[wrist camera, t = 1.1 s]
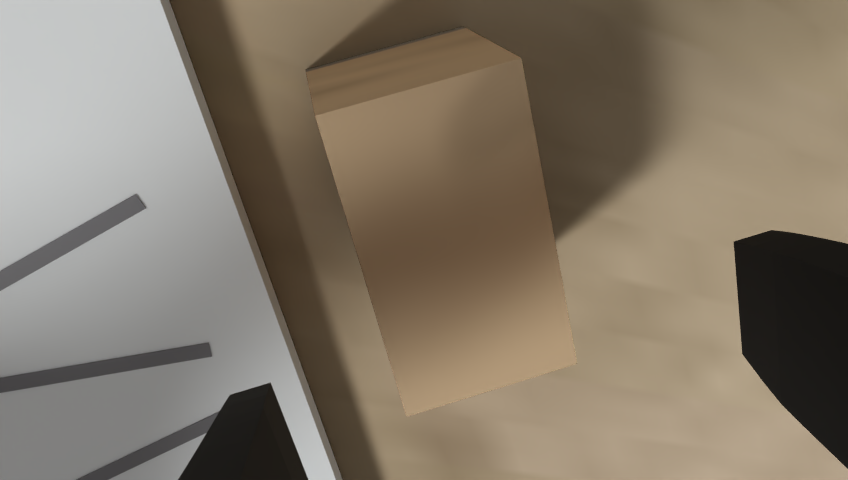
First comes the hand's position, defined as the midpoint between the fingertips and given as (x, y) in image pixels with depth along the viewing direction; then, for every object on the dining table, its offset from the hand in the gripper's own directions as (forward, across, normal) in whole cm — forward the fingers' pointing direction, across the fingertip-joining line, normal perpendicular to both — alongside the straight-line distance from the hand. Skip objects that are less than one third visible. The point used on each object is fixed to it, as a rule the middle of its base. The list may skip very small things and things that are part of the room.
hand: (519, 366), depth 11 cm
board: (+9, +9, +2) cm, 13 cm away
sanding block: (+10, 0, 0) cm, 10 cm away
